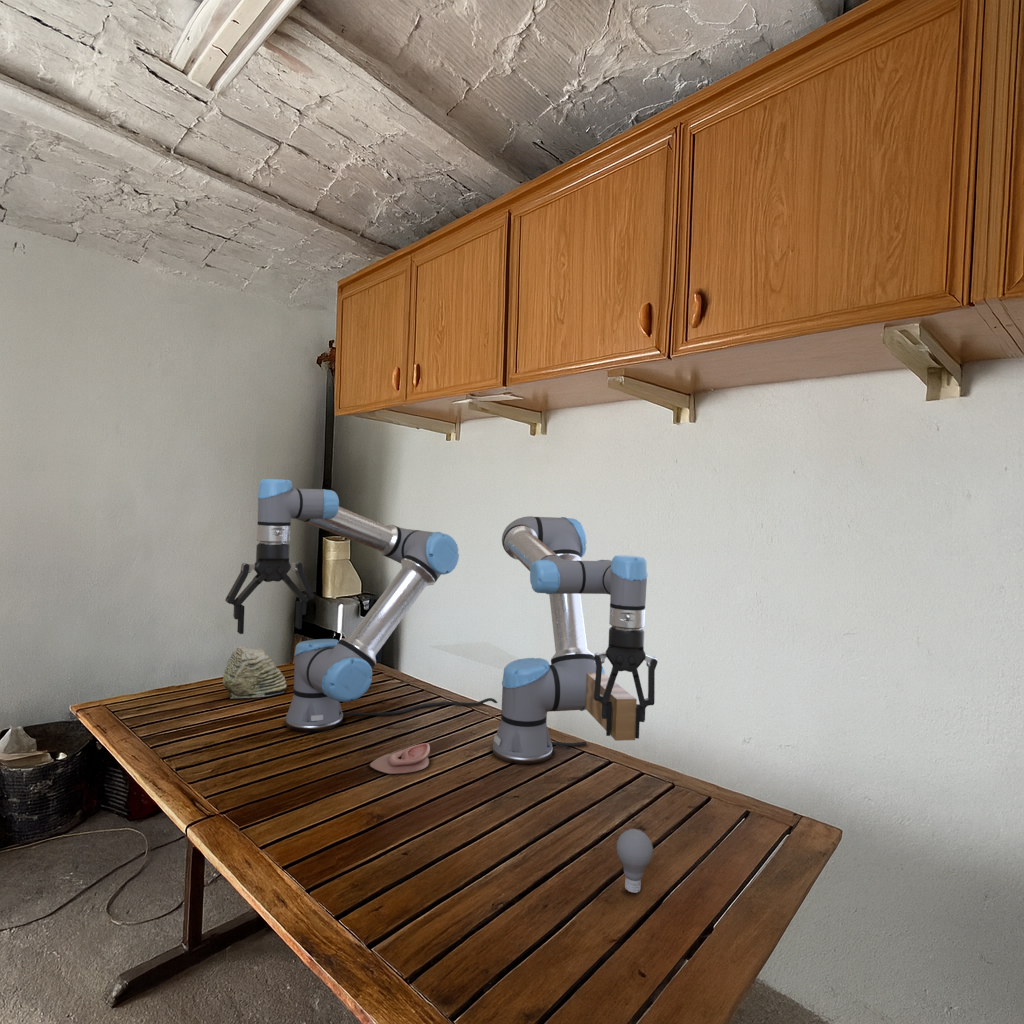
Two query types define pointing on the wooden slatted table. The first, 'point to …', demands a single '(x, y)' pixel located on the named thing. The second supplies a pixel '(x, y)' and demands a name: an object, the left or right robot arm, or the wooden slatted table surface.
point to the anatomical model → (404, 760)
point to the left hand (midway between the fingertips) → (270, 630)
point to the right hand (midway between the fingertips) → (622, 734)
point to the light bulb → (634, 857)
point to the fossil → (252, 674)
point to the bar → (613, 708)
